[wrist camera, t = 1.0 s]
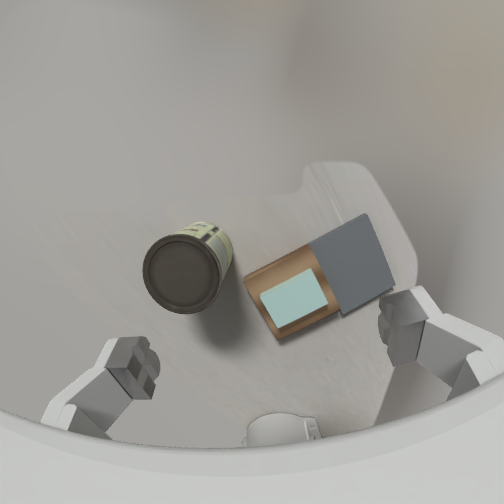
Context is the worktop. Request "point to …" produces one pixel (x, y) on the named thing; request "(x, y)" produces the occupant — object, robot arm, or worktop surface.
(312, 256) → the brown square plate
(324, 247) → the grey flat slab
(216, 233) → the coffee can
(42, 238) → the worktop surface
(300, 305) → the block
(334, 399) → the worktop surface
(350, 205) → the worktop surface
